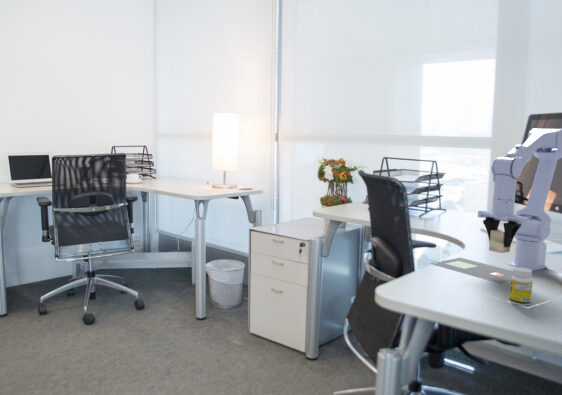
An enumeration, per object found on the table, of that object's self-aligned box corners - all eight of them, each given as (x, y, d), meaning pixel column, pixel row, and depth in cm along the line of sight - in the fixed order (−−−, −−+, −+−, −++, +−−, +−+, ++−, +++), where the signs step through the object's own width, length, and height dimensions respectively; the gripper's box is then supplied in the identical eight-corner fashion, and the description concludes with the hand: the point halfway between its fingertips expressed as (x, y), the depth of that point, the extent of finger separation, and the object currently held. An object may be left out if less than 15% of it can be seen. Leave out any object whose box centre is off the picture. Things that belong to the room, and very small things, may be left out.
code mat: (460, 258, 163) (460, 257, 163) (531, 276, 143) (531, 275, 143) (429, 264, 154) (429, 263, 154) (500, 284, 134) (500, 283, 134)
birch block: (496, 248, 146) (498, 229, 145) (509, 251, 142) (511, 231, 142) (489, 250, 143) (490, 230, 143) (501, 253, 140) (503, 232, 139)
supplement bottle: (512, 298, 123) (515, 265, 122) (532, 302, 120) (536, 269, 119) (506, 302, 119) (509, 269, 118) (527, 307, 116) (531, 273, 115)
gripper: (473, 196, 145) (469, 241, 146) (520, 203, 133) (516, 252, 134) (487, 195, 149) (483, 239, 150) (534, 201, 137) (529, 249, 138)
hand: (499, 245), depth 143 cm, fingers closed on birch block, 4 cm apart
